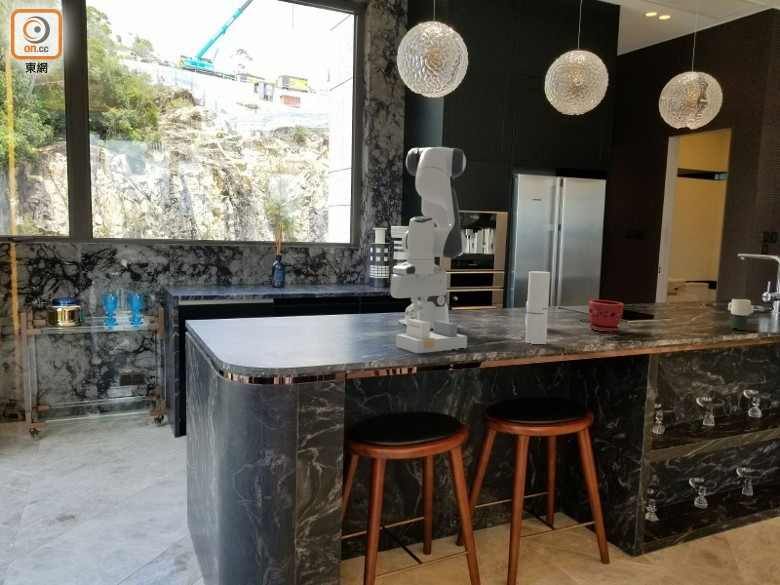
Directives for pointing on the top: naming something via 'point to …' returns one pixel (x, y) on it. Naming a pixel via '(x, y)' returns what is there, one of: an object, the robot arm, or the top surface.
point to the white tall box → (537, 307)
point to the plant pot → (605, 315)
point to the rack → (434, 339)
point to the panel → (418, 329)
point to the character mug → (740, 312)
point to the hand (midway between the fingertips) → (418, 310)
